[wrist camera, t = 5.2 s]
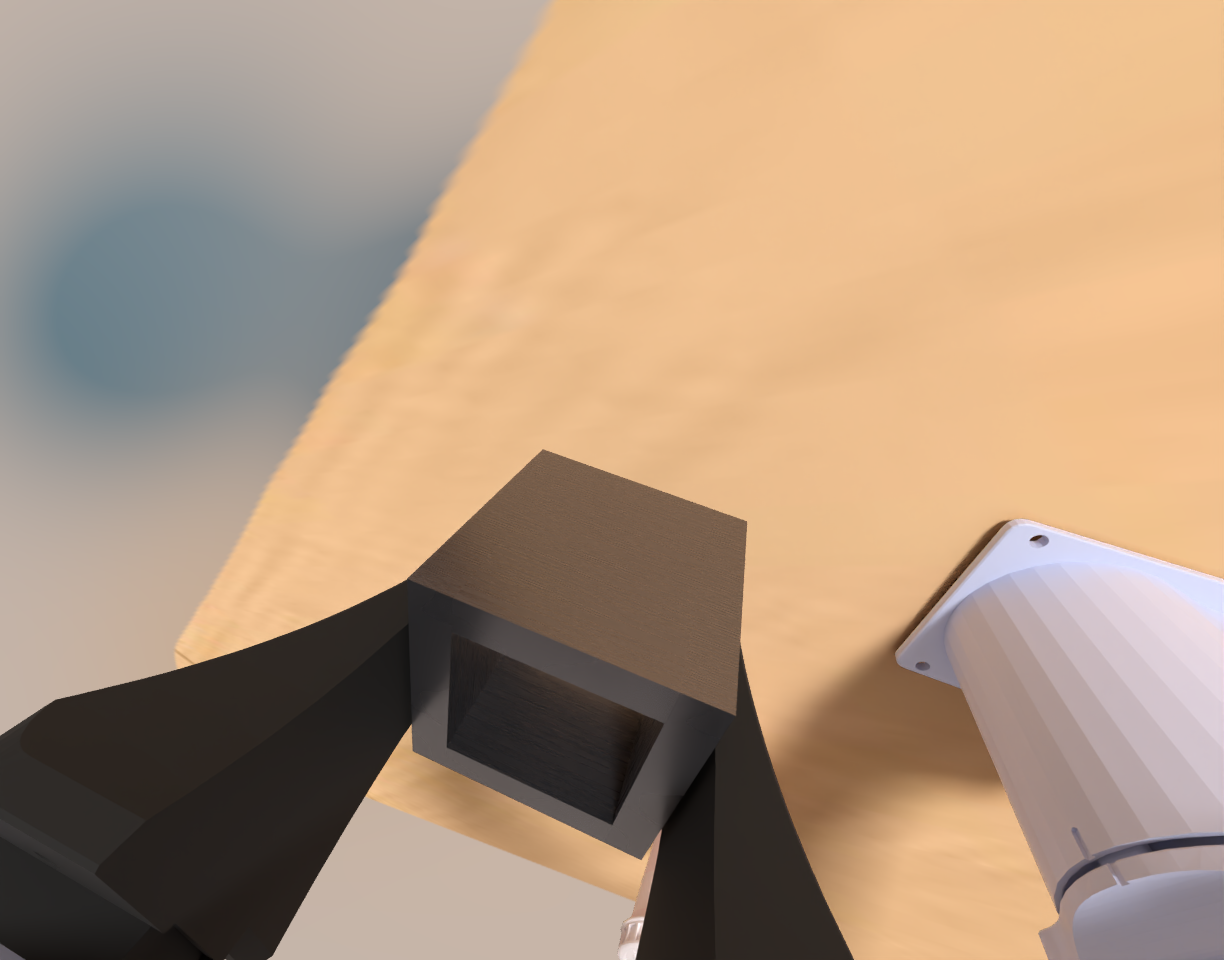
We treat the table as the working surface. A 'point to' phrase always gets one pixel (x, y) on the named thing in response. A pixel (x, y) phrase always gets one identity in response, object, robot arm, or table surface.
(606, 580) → the hollow square tube
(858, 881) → the table surface
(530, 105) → the table surface
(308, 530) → the table surface
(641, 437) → the table surface
